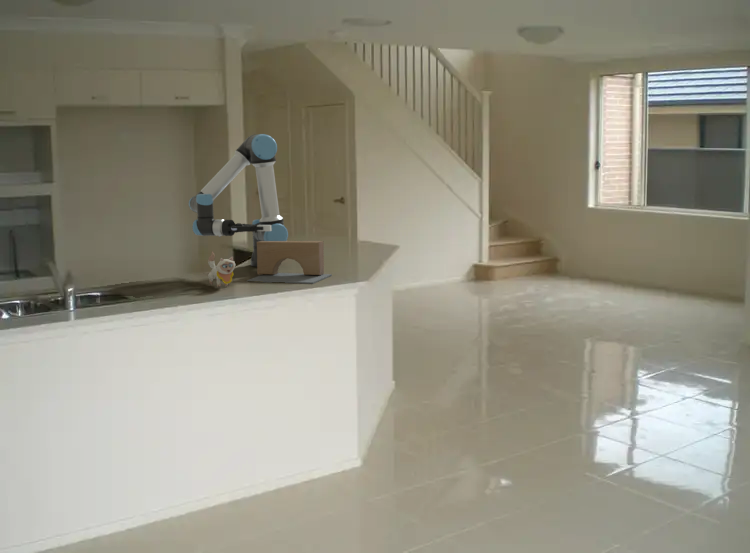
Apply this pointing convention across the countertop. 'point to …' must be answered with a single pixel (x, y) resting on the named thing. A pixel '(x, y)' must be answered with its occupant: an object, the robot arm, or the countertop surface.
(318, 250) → the decorative block
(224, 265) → the toy
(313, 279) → the mat
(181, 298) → the countertop surface
